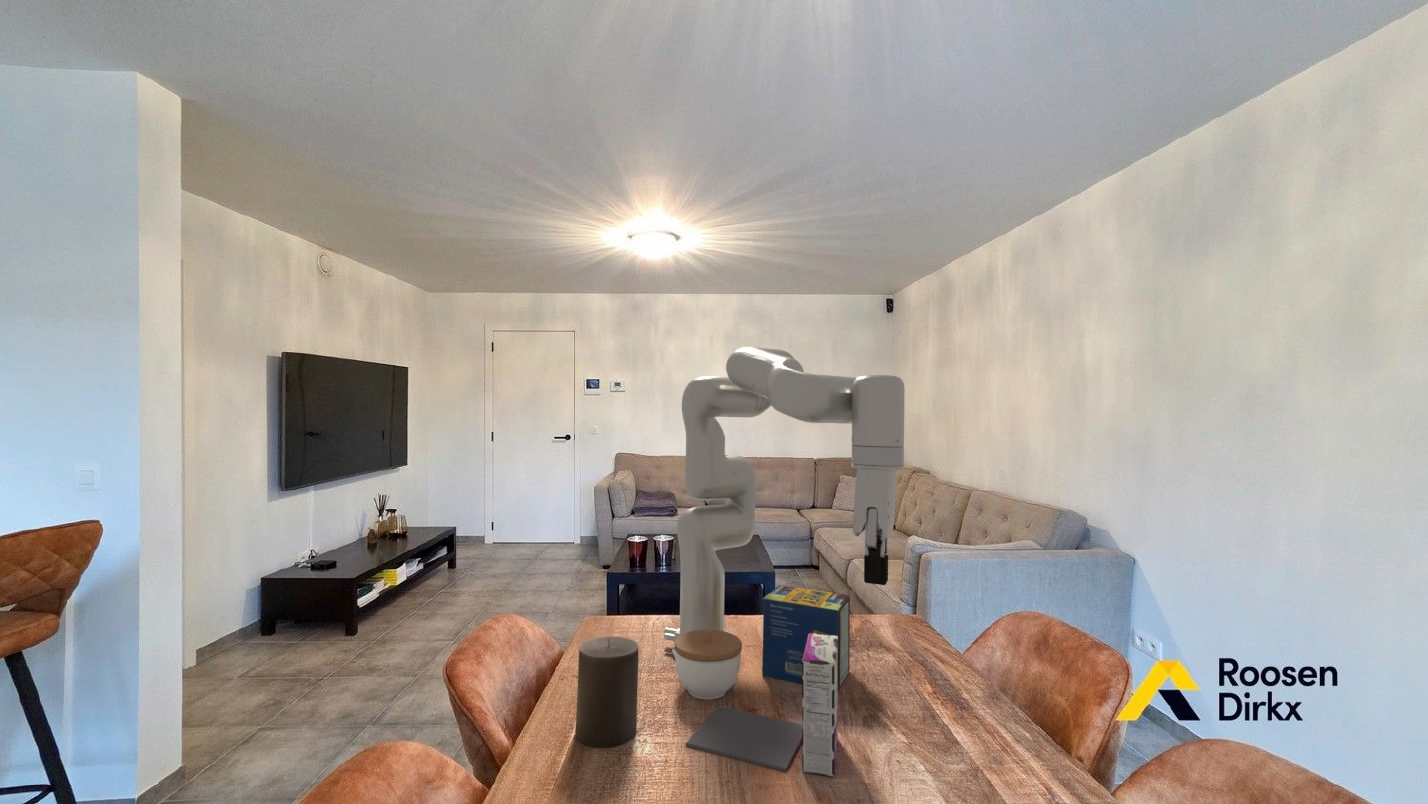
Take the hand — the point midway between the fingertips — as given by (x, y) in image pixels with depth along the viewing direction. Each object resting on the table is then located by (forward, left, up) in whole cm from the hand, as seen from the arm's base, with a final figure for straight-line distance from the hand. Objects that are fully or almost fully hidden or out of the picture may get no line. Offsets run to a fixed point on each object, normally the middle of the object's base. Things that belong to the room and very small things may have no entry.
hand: (876, 581), depth 88 cm
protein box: (-17, +27, -27) cm, 42 cm away
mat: (-20, 0, -27) cm, 33 cm away
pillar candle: (-41, -8, -27) cm, 50 cm away
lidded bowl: (-32, +12, -27) cm, 44 cm away
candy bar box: (-8, 0, -27) cm, 28 cm away
